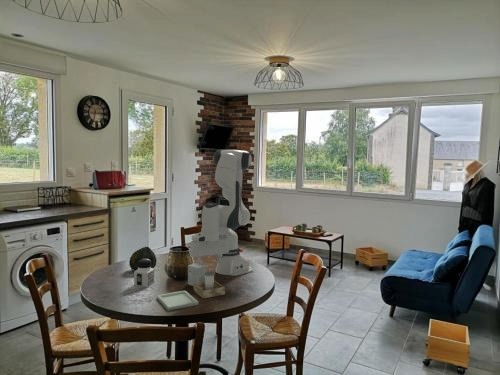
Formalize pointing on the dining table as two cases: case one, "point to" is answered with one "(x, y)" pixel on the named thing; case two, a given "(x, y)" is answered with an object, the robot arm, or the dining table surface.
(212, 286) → the canister
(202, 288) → the open wooden frame
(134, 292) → the dining table surface
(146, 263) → the container
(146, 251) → the squash
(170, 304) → the tray
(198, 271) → the small box
